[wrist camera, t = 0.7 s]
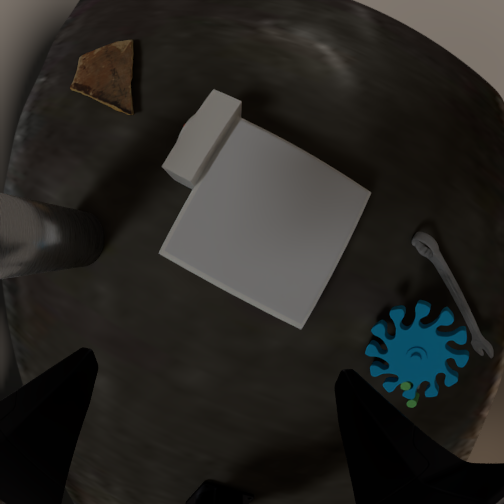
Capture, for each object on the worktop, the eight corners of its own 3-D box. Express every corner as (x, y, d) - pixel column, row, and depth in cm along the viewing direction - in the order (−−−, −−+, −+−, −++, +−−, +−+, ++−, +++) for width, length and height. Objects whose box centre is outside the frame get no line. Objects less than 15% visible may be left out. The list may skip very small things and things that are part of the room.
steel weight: (91, 276, 22) (-31, 304, 7) (55, 250, 21) (-63, 254, 7) (112, 226, 22) (-12, 209, 7) (74, 202, 21) (-43, 172, 7)
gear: (364, 301, 21) (479, 310, 15) (382, 280, 26) (475, 285, 19) (358, 401, 23) (450, 417, 16) (377, 370, 27) (456, 381, 21)
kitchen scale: (294, 321, 23) (306, 336, 18) (139, 235, 22) (118, 234, 18) (360, 192, 23) (383, 183, 18) (212, 111, 22) (208, 87, 18)
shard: (136, 121, 22) (130, 113, 20) (70, 143, 22) (61, 138, 20) (137, 44, 22) (133, 34, 20) (79, 66, 21) (72, 58, 20)
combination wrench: (425, 237, 20) (490, 366, 21) (432, 227, 20) (496, 358, 21) (403, 238, 24) (472, 358, 24) (410, 229, 24) (478, 350, 24)
